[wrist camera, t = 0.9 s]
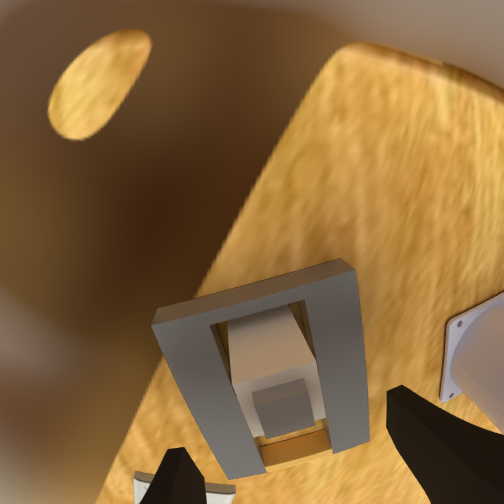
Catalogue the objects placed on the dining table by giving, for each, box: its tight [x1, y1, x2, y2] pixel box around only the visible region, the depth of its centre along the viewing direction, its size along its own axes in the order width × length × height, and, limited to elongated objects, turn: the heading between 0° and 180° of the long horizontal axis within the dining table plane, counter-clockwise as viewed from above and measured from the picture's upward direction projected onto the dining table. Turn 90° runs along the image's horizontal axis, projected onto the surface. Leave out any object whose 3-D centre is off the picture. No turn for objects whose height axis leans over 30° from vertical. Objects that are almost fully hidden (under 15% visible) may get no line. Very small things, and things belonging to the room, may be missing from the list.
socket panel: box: [151, 258, 370, 480], centre depth 17 cm, size 10×13×2 cm
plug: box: [227, 304, 326, 439], centre depth 14 cm, size 3×3×7 cm
